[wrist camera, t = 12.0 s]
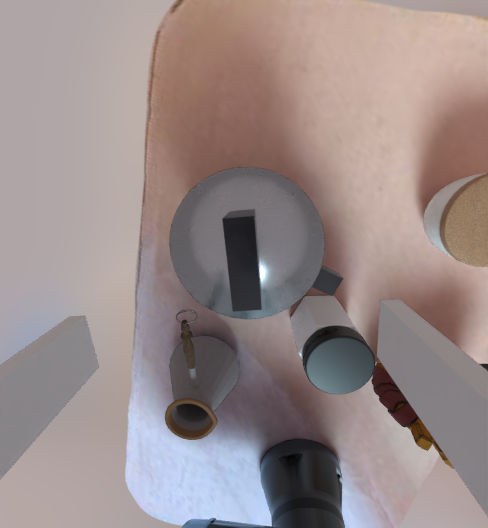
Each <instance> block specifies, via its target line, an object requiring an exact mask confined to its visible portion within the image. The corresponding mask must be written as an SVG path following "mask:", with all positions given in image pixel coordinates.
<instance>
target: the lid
mask: <svg viewBox="0 0 488 528" xmlns="http://www.w3.org/2000/svg"><path fill="white" fill-rule="evenodd" d="M324 250H325V237H324V230H323V225H322V222H321V219H320V216H319V213H318V211H317V210H316V208H315V206H314V204H313V202H312V201H311V200H310V198H309V197H308V196H307V194H306V193H305V192H304V191H303V190H302V189H301V188H300V187H299V186H297V185H296V184H295V183H293V182H292V181H291V180H289V179H287V178H286V177H284V176H282V175H280V174H278V173H275V172H273V171H270V170H266V169H262V168H254V167H238V168H232V169H227V170H224V171H221V172H218V173H215V174H213V175H211V176H209V177H207V178H206V179H204V180H203V181H201V182H200V183H198V184H197V185H196V186H195V187H194V188H193V189H192V190H191V191H190V192H189V193H188V194H187V195H186V196H185V198H184V199H183V201H182V202H181V204H180V205H179V207H178V209H177V211H176V213H175V216H174V219H173V222H172V225H171V231H170V254H171V259H172V263H173V266H174V269H175V271H176V274H177V276H178V278H179V279H180V281H181V283H182V284H183V286H184V287H185V289H186V290H187V291H188V292H189V293H190V294H191V295H192V297H194V298H195V299H196V300H197V301H198V302H199V303H201V304H202V305H204V306H205V307H207V308H208V309H210V310H212V311H214V312H216V313H219V314H222V315H224V316H229V317H233V318H240V319H256V318H263V317H267V316H271V315H274V314H277V313H279V312H281V311H283V310H285V309H287V308H289V307H290V306H292V305H293V304H295V303H296V302H297V301H298V300H300V299H301V298H302V297H303V296H304V295H305V294H306V292H307V291H308V290H309V289H310V288H311V286H312V285H313V283H314V282H315V280H316V278H317V276H318V274H319V271H320V269H321V266H322V262H323V257H324Z"/></svg>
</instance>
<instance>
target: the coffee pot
mask: <svg viewBox="0 0 488 528" xmlns="http://www.w3.org/2000/svg"><path fill="white" fill-rule="evenodd" d="M186 311H190V312H193V313H195V314H196V315H197V313H196V312H195V311H192V310H183V311H180V312H179V313H178V314H177V315H176V319H177V316H178V315H179V314H180V313H182V312H186ZM197 319H198V316H197V317H196V319H195V320H194V321H191V322H187V320H183V321H182V322H181V321H180V320H178V319H177V321H178V322H180V323H182V324H181V330H182V331H183V332H182V333H181V338H182V339H183V340H184V341H183V343H181V344H180V345H179V346H178V347H177V348H176V349H175V350H174V352H173V354H172V356H171V359H170V374H171V381H172V389H173V396H174V402H173V403H172V404H171V405H170V406H169V407H168V408H167V410H166V413H165V421H166V424H167V426H168V428H169V429H170V430H171V432H172V433H174V434H175V435H177V436H179V437H181V438H183V439H188V440H197V439H201V438H204V437H206V436H207V435H208V434H210V433H211V432H212V430H213V429H214V428H215V426H216V424H217V422H218V421H217V418H216V416H215V414H214V413H213V412H214V411H215V409H216V408H217V407H218V406H219V404H220V403H221V402H222V401H223V400H224V398H225V397H226V396H227V395H228V394H229V392H230V391H231V390H232V389H233V388H234V386H235V384H236V383H237V381H238V379H239V375H240V364H239V360H238V358H237V356H236V354H235V352H234V351H233V350H232V348H231V347H230V346H229V345H228V344H226V343H225V342H224V341H222V340H220V339H218V338H215V337H210V336H197V337H193V338H192V332H191V331H189V329H190V327H189V324H191V323H193V322H195V321H196V320H197Z"/></svg>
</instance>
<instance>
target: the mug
mask: <svg viewBox="0 0 488 528" xmlns="http://www.w3.org/2000/svg"><path fill="white" fill-rule="evenodd" d="M371 381H372V384H373V386H374V387H373V388H374V392H375V393H376V394H377V395H378V396H379V397H380V398H379V400H380V402H381V403H382V404H383V405H384V406H385V407H386V408H388V412H389V413H390V414H391V416H392V417H393V418H394V419H395V420H396V421H397V422H398V423H399V424H400V425H401V426H403V427H408V428H409V429H410V430H411V432H412V435H413V437H414V440H415V442H416V444H417V445H418V446H419V447H421V448H422V449H424V450H427V451H428V450H429V449H430V447H431V445H432V444H433V445H434V447H435V449H436V450H437V451H438V452H439V454H440V456H441V457H442V459H443V460H444V462H445V463H446V464H447V465H449V466H450V467H451V468H453V469H454V467H453V466H452V464H451V463H450V461H449V460H448V459H447V457H446V456H445V454H444V453H443V451H442V450H441V448H440V447H439V446H438V444H437V443H436V441H435V440H434V438H433V437H432V435H431V434H430V432H429V431H428V430H427V428H426V427H425V425H424V424H423V422H422V421H421V419H420V418H419V417H418V415H417V414H416V412H415V411H414V409H413V408H412V406H411V405H410V404H409V402H408V401H407V399H406V398H405V396H404V395H403V393H402V392H401V391H400V389H399V388H398V386H397V385H396V383H395V382H394V380H393V379H392V378H391V376H390V375H389V373H388V372H387V370H386V369H385V367H384V366H383V365H382V363H377V364H376V366H375V369H374V372H373V379H372V380H371Z"/></svg>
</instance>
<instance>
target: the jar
mask: <svg viewBox="0 0 488 528" xmlns="http://www.w3.org/2000/svg"><path fill="white" fill-rule="evenodd" d="M290 321H291V325H292V329H293V333H294V337H295V342H296V346H297V350H298V354H299V355H300V357H301V358H302V361H303V366H304V370H305V372H306V375H307V377H308V379H309V380H310V382H311V383H312V384H313V385H314V386H315V387H317V388H318V389H320V390H322V391H324V392H327V393H331V394H345V393H350V392H353V391H355V390H357V389H359V388H361V387H362V386H364V385H365V384H366V383H367V382H368V381H369V379H370V378H371V376H372V374H373V372H374V369H375V358H374V354H373V352H372V350H371V349H370V347H369V346H368V344H367V343H366V341H365V340H364V338H363V337H362V336H361V335H360V334H359V332H358V330H357V328H356V327H355V325H354V324H353V322H352V321H351V319H350V318H349V316H348V315H347V313H346V312H345V311H344V309H343V308H342V306H341V305H340V303H339V302H338V300H337V299H336V297H335V296H331V295H330V296H304V298H303V299H302V301H301V303H300V304H299V306H298V307H297V309H296V310H295V312H294V313H293V315H292V316H291V318H290Z"/></svg>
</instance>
